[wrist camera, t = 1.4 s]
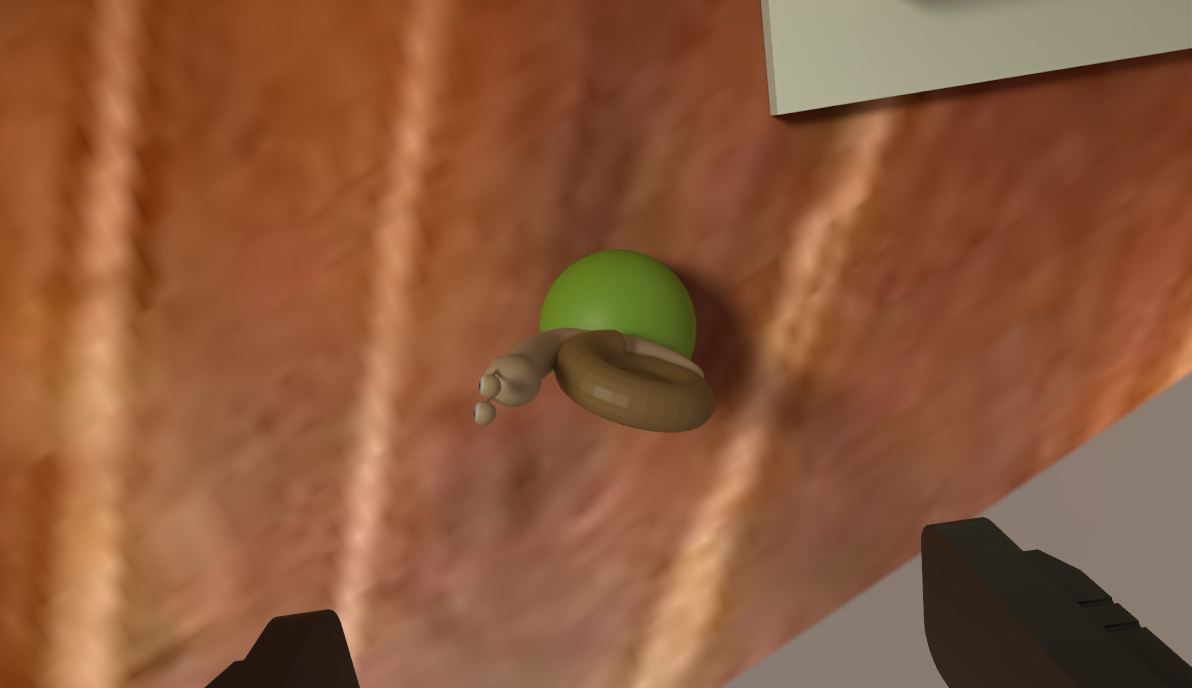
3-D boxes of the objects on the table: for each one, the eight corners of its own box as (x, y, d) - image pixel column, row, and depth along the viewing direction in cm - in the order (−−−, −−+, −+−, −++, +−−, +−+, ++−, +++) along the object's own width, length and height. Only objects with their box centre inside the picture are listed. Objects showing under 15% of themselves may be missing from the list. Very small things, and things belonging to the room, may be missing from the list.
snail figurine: (533, 219, 27) (494, 283, 15) (701, 256, 28) (785, 346, 16) (505, 356, 28) (452, 508, 17) (666, 390, 29) (719, 560, 17)
